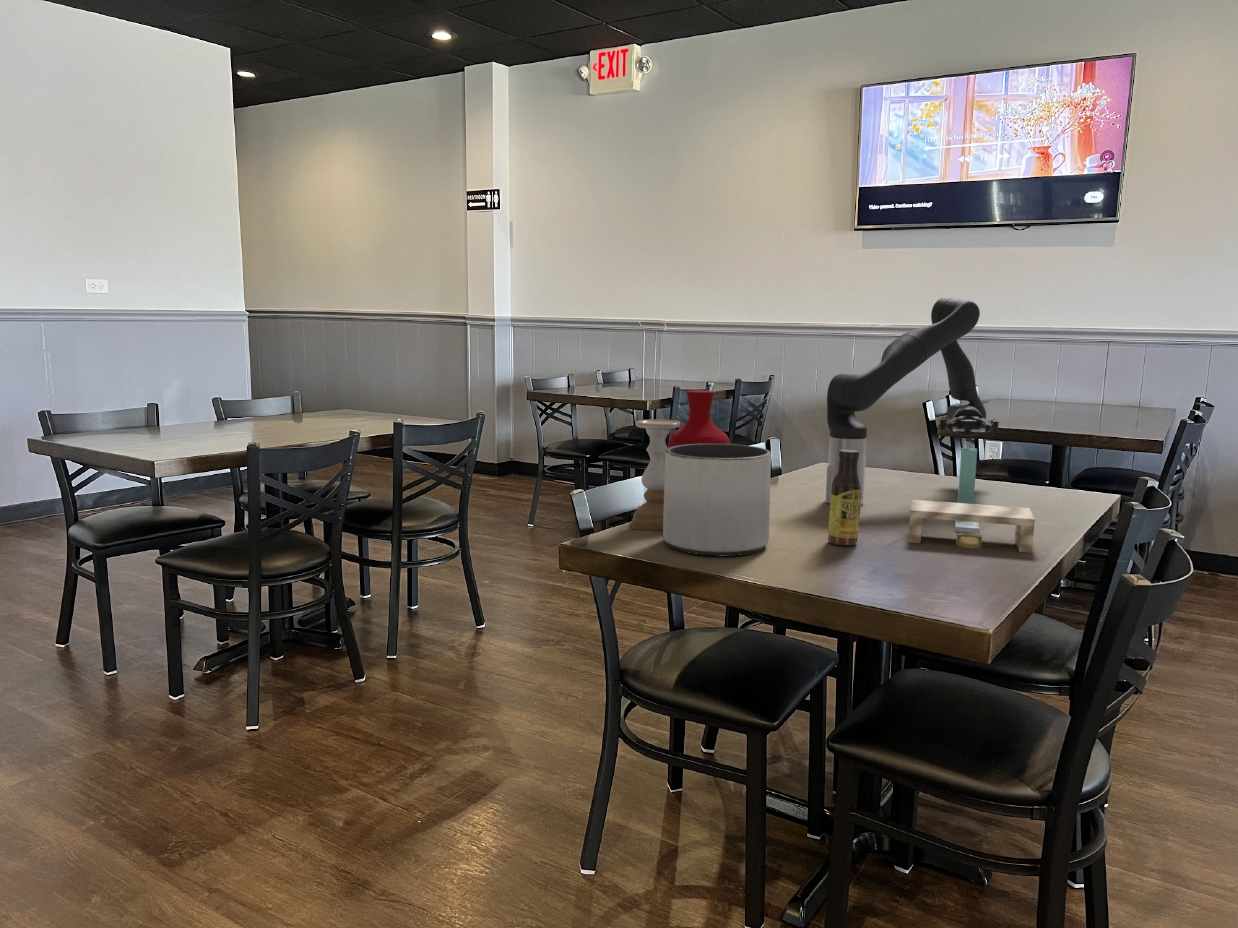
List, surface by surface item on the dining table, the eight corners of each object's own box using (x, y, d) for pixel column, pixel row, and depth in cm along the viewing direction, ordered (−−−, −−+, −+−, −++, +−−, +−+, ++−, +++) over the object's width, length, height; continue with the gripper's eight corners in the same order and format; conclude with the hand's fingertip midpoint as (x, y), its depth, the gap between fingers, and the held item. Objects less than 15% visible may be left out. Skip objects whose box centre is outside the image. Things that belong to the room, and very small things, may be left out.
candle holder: (681, 520, 207) (683, 419, 203) (679, 531, 196) (681, 424, 192) (635, 519, 208) (635, 418, 204) (631, 529, 197) (631, 424, 193)
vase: (674, 506, 222) (677, 388, 217) (733, 510, 218) (736, 389, 213) (660, 518, 208) (662, 392, 203) (722, 523, 204) (725, 394, 199)
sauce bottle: (841, 548, 182) (845, 453, 179) (821, 541, 187) (825, 449, 184) (865, 544, 185) (870, 451, 182) (844, 538, 190) (849, 447, 187)
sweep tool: (955, 532, 197) (959, 461, 194) (953, 511, 219) (958, 447, 216) (979, 533, 195) (984, 462, 193) (975, 512, 217) (979, 448, 215)
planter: (705, 564, 169) (708, 461, 166) (642, 540, 188) (643, 447, 185) (791, 549, 181) (794, 453, 178) (723, 528, 199) (725, 440, 196)
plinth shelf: (908, 542, 187) (910, 510, 186) (910, 530, 199) (912, 499, 197) (1032, 552, 179) (1034, 519, 178) (1026, 539, 191) (1029, 507, 189)
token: (956, 548, 183) (956, 536, 183) (955, 542, 188) (956, 531, 188) (982, 550, 182) (982, 538, 181) (980, 544, 186) (981, 533, 186)
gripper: (940, 406, 241) (940, 412, 226) (996, 407, 236) (1000, 414, 221) (939, 433, 242) (938, 441, 227) (995, 435, 237) (998, 443, 222)
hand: (969, 427), depth 224 cm, fingers open, 8 cm apart
